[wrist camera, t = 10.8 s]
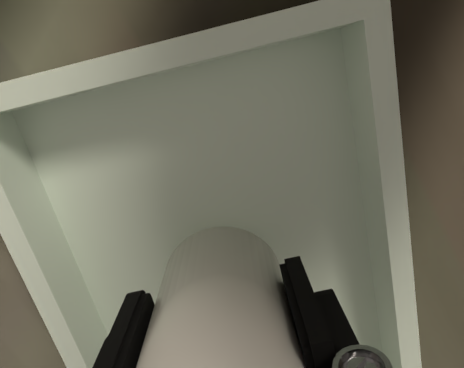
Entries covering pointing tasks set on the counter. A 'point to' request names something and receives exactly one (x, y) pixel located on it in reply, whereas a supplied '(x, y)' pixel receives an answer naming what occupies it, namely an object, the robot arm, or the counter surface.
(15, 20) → the counter surface
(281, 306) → the shaker
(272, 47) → the tray
